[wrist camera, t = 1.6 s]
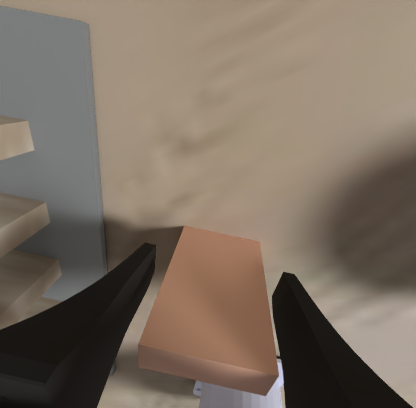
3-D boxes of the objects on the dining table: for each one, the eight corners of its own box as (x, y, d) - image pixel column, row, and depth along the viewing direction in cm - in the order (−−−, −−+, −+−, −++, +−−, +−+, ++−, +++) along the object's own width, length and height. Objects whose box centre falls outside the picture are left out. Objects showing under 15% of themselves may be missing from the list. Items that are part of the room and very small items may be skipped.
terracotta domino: (253, 260, 15) (265, 396, 8) (181, 245, 15) (138, 367, 8) (259, 241, 14) (279, 375, 7) (184, 226, 14) (138, 344, 8)
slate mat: (115, 370, 24) (112, 375, 24) (13, 346, 25) (9, 351, 24) (88, 24, 10) (80, 20, 9) (-164, -23, 10) (-183, -29, 10)
